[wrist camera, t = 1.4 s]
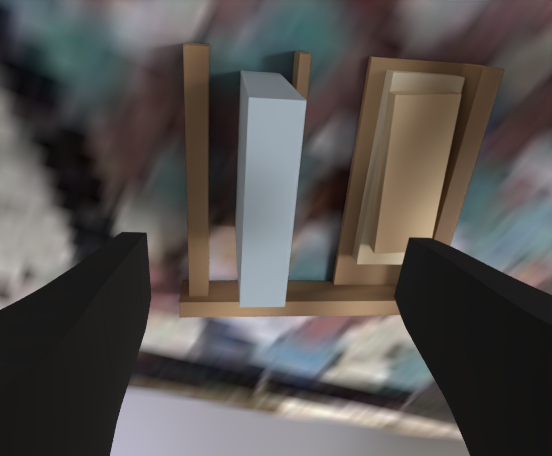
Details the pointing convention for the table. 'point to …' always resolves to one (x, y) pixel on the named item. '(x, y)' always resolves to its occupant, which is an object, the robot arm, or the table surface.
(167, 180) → the table surface
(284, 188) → the block
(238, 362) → the table surface
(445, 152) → the offcut oak
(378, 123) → the offcut birch
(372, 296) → the rack
